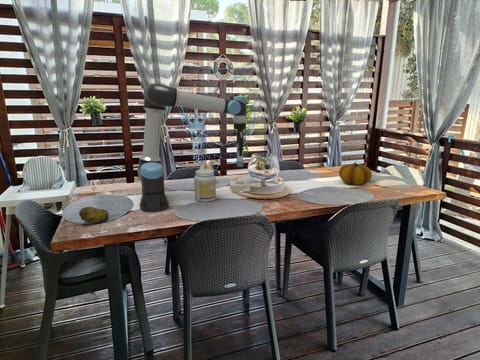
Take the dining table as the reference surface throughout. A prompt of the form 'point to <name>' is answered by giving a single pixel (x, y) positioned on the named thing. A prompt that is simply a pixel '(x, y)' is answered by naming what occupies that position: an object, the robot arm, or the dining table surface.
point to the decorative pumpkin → (355, 174)
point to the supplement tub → (205, 185)
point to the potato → (93, 214)
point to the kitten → (207, 166)
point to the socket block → (239, 185)
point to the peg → (239, 163)
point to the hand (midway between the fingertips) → (239, 160)
